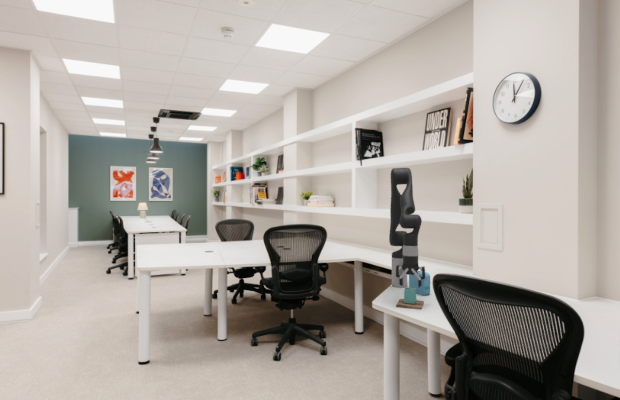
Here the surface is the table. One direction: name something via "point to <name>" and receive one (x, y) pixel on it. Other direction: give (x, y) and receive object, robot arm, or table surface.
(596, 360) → the table surface
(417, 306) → the post board
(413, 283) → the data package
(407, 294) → the teal rectangular block
